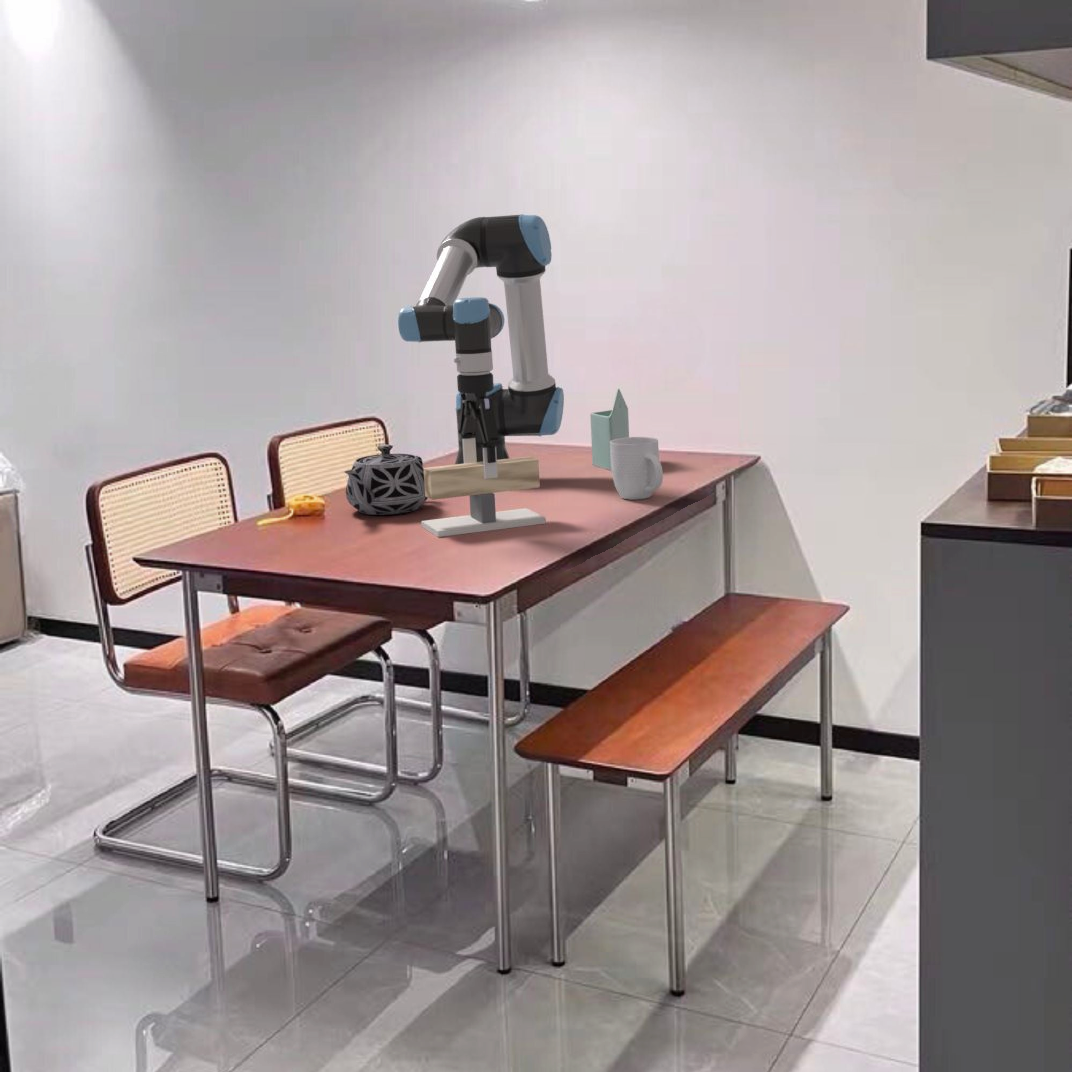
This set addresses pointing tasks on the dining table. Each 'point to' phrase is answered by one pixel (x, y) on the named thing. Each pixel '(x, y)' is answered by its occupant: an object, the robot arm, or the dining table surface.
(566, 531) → the dining table surface
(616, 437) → the planter
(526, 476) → the wooden beam
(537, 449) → the dining table surface
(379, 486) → the teapot
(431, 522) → the fulcrum
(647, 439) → the mug
